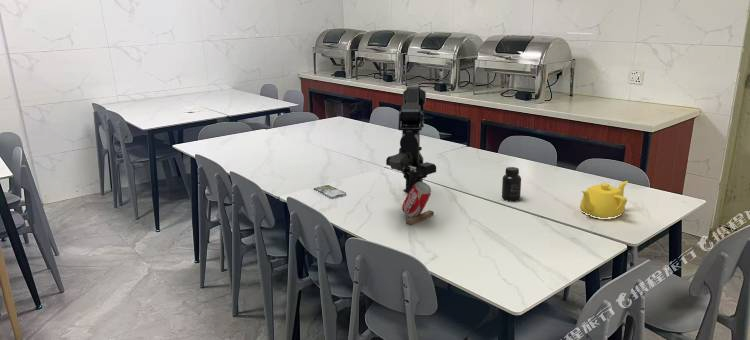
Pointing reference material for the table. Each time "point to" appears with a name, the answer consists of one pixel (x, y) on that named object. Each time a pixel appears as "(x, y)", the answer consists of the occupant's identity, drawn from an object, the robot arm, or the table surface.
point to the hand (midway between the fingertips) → (410, 188)
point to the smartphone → (330, 191)
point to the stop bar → (419, 217)
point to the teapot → (604, 200)
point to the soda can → (416, 199)
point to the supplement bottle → (511, 184)
